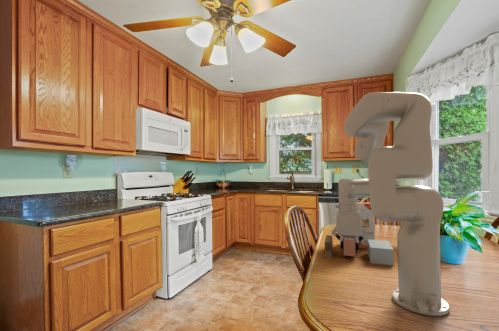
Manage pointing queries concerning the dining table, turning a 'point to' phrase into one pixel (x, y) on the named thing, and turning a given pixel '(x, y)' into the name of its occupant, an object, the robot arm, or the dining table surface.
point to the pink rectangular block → (349, 245)
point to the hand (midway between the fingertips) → (349, 250)
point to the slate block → (380, 252)
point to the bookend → (328, 246)
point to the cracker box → (366, 223)
